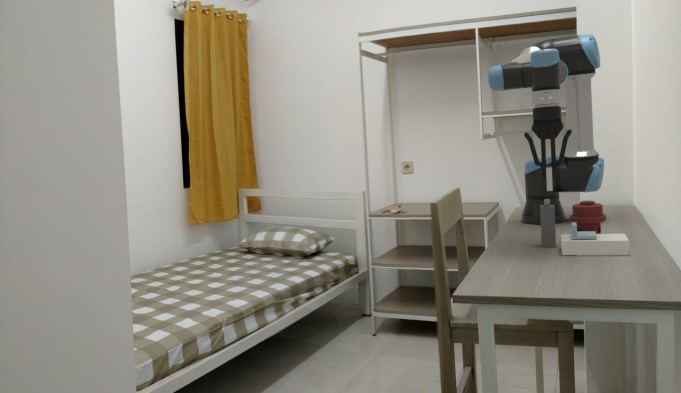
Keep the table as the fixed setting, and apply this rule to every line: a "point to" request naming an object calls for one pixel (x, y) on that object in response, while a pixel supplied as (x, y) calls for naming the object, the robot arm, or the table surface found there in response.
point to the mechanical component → (588, 216)
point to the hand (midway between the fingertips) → (549, 190)
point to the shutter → (582, 233)
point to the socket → (595, 245)
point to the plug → (547, 224)
